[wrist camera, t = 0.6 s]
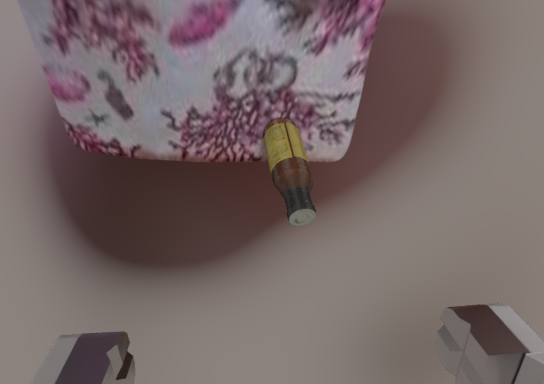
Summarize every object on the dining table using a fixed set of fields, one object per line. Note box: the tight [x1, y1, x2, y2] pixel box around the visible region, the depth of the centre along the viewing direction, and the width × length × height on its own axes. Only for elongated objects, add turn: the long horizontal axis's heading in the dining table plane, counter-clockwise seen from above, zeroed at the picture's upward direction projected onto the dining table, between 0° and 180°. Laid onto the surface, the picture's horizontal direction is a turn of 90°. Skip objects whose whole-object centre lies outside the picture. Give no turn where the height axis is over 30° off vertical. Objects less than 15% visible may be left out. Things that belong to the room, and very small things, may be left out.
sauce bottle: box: [264, 118, 317, 227], centre depth 57 cm, size 7×6×20 cm
